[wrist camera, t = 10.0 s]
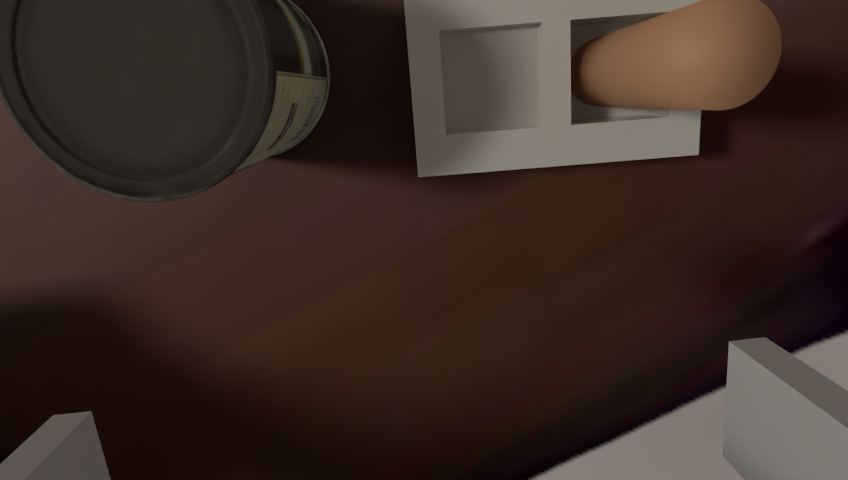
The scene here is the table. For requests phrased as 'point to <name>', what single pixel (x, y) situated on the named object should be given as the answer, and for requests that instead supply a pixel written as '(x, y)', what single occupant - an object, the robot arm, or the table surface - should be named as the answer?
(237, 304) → the table surface
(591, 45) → the pin
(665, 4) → the bore block
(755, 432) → the robot arm
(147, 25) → the coffee can
